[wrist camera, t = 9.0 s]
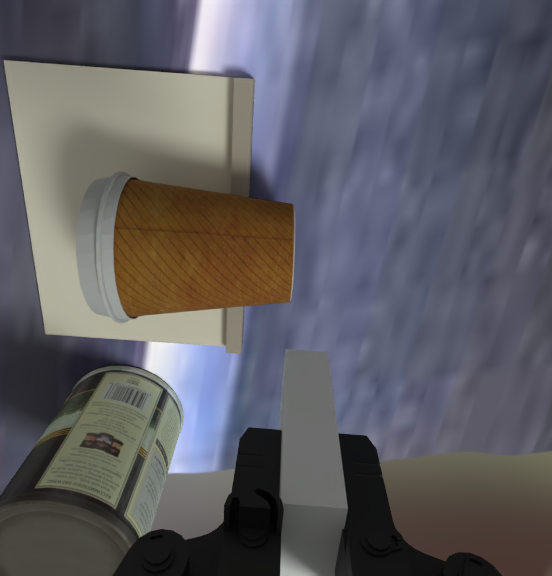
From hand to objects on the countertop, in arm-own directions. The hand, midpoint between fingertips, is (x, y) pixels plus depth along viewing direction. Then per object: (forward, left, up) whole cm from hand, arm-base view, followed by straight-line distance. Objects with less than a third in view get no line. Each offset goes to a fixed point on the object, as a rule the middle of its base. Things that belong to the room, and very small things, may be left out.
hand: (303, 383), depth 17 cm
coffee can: (+13, +18, -19) cm, 30 cm away
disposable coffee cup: (0, 0, -14) cm, 14 cm away
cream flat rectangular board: (+11, 0, -19) cm, 22 cm away
